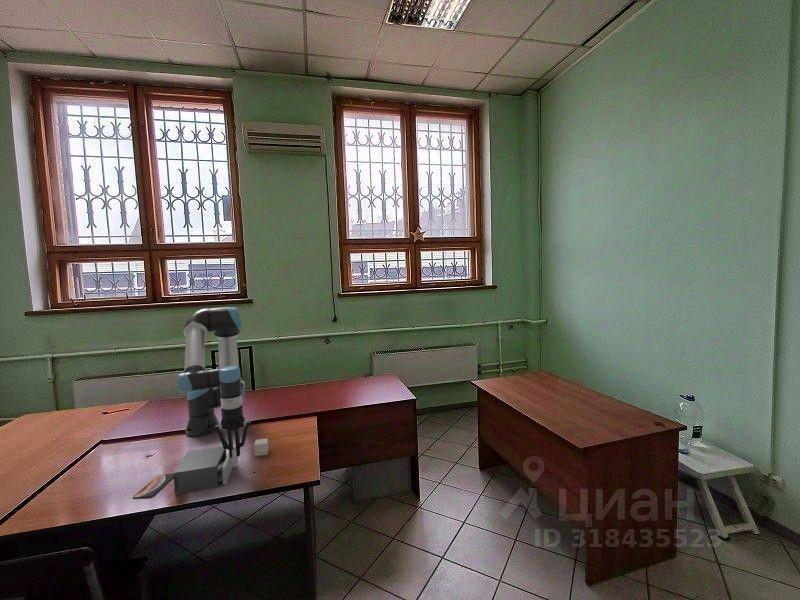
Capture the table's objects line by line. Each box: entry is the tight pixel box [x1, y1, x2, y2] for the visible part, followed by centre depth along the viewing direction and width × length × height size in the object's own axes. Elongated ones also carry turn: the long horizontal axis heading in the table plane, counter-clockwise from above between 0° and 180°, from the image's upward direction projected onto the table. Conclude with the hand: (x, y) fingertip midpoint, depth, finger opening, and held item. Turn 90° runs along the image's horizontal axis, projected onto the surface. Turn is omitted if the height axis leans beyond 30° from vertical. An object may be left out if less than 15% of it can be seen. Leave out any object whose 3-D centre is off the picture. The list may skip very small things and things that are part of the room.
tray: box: [218, 451, 234, 485], centre depth 137 cm, size 17×14×7 cm
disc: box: [217, 461, 224, 475], centre depth 137 cm, size 9×9×2 cm
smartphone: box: [132, 473, 174, 500], centre depth 132 cm, size 8×1×15 cm
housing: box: [172, 445, 228, 495], centre depth 136 cm, size 17×14×8 cm
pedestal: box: [253, 438, 269, 457], centre depth 155 cm, size 5×5×5 cm
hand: (235, 464), depth 139 cm, fingers closed
